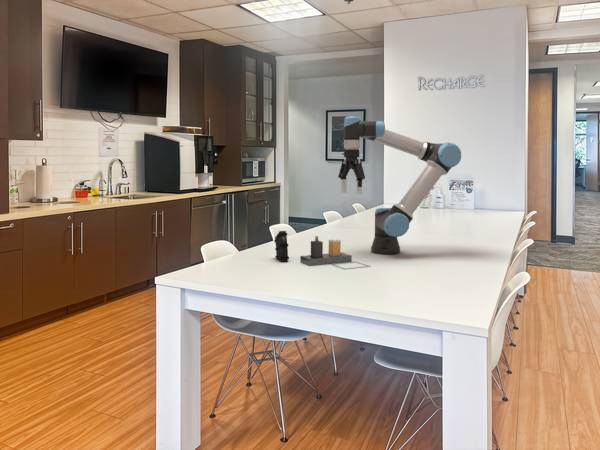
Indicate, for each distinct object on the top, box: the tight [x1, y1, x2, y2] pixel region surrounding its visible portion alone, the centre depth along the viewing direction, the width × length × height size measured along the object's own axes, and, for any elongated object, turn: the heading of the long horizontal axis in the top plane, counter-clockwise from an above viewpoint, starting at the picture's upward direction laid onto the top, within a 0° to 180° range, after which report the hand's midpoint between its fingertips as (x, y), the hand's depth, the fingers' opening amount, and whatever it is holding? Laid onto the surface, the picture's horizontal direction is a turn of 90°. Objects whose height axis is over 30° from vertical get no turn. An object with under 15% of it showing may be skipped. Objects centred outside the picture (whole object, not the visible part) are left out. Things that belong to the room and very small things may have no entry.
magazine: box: [273, 230, 290, 263], centre depth 243 cm, size 4×13×15 cm, turn 16°
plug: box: [328, 238, 342, 256], centre depth 240 cm, size 4×4×10 cm
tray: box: [329, 260, 372, 271], centre depth 231 cm, size 14×12×1 cm
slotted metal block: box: [299, 251, 353, 267], centre depth 239 cm, size 22×9×4 cm, turn 117°
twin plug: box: [310, 235, 324, 258], centre depth 236 cm, size 4×4×12 cm
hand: (351, 193), depth 252 cm, fingers open, 13 cm apart
